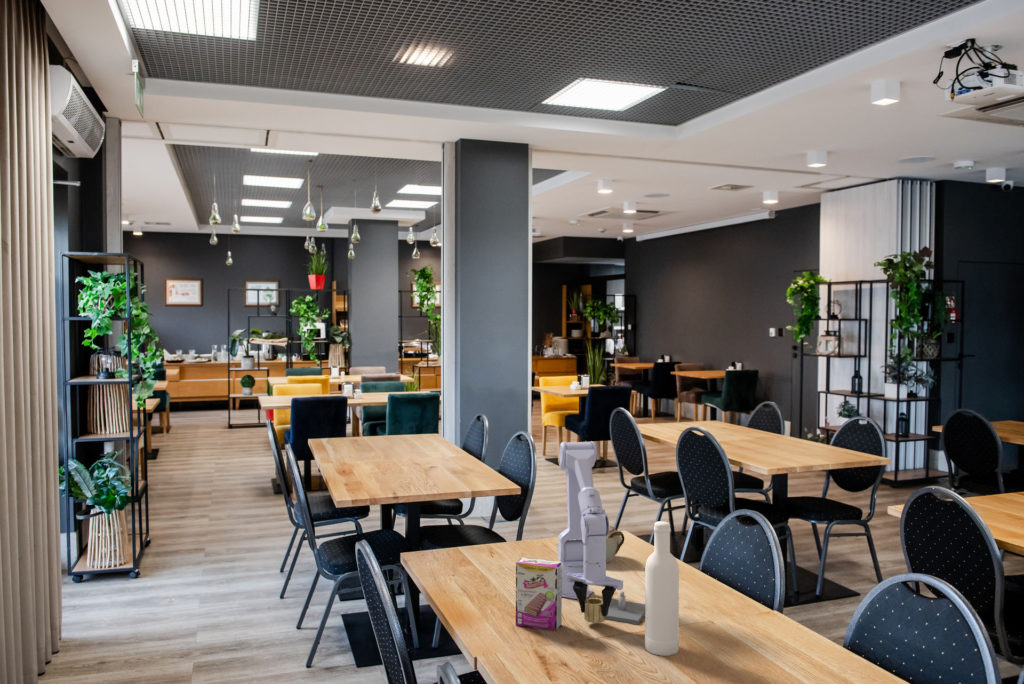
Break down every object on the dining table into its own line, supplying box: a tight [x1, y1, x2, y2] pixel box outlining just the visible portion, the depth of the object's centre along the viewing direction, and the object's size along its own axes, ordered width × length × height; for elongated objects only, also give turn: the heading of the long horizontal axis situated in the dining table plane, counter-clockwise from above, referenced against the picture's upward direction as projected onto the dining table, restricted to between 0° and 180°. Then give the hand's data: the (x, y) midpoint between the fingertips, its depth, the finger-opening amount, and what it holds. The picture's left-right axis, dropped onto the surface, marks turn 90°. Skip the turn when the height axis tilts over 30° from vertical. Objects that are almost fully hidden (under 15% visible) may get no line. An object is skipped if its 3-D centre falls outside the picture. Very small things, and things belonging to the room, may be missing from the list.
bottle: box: [644, 520, 680, 657], centre depth 177 cm, size 8×8×30 cm
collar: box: [583, 597, 606, 624], centre depth 191 cm, size 5×5×4 cm
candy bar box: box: [515, 557, 563, 632], centre depth 191 cm, size 11×5×16 cm, turn 71°
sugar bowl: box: [575, 525, 625, 564], centre depth 245 cm, size 20×15×15 cm
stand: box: [605, 591, 645, 625], centre depth 199 cm, size 12×12×6 cm
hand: (594, 613), depth 191 cm, fingers closed on collar, 5 cm apart
